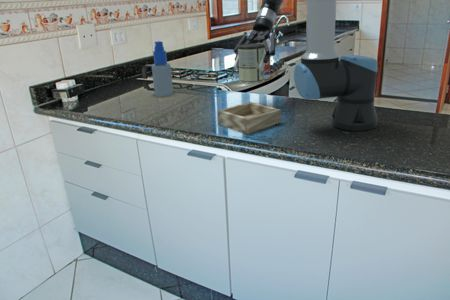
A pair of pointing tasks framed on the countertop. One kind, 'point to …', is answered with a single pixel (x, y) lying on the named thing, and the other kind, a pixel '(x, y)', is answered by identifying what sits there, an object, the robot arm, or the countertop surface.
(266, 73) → the fruit juice
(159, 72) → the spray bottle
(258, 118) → the light wooden square tray
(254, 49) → the coffee can
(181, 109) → the countertop surface
